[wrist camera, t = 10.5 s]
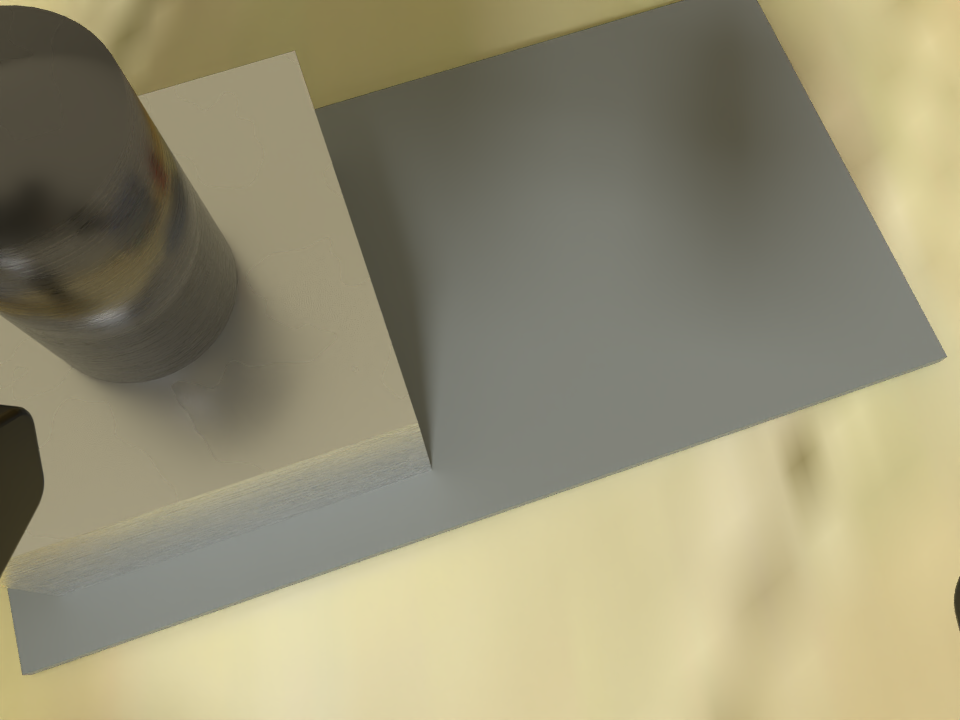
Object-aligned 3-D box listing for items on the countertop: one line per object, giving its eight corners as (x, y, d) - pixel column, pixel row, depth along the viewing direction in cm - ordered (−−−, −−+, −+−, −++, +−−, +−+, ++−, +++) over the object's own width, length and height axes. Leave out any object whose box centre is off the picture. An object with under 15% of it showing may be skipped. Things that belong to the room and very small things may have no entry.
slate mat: (743, -9, 27) (746, -19, 26) (939, 361, 23) (947, 356, 23) (-48, 226, 25) (-57, 219, 24) (30, 675, 21) (22, 674, 21)
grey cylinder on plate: (432, 470, 22) (383, 305, 12) (59, 596, 21) (-326, 531, 11) (328, 157, 25) (218, -188, 15) (-5, 257, 24) (-360, -36, 14)
